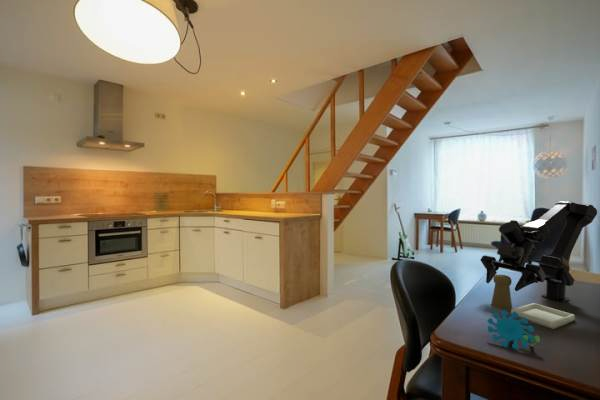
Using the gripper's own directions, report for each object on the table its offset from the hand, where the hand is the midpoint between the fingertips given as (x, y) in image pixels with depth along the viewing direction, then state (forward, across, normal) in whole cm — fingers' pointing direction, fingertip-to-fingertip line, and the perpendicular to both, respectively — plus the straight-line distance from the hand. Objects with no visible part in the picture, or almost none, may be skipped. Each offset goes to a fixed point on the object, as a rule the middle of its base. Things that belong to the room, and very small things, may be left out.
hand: (500, 286), depth 101 cm
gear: (+23, +16, -12) cm, 31 cm away
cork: (+5, 0, +6) cm, 7 cm away
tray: (+3, +11, +7) cm, 14 cm away
